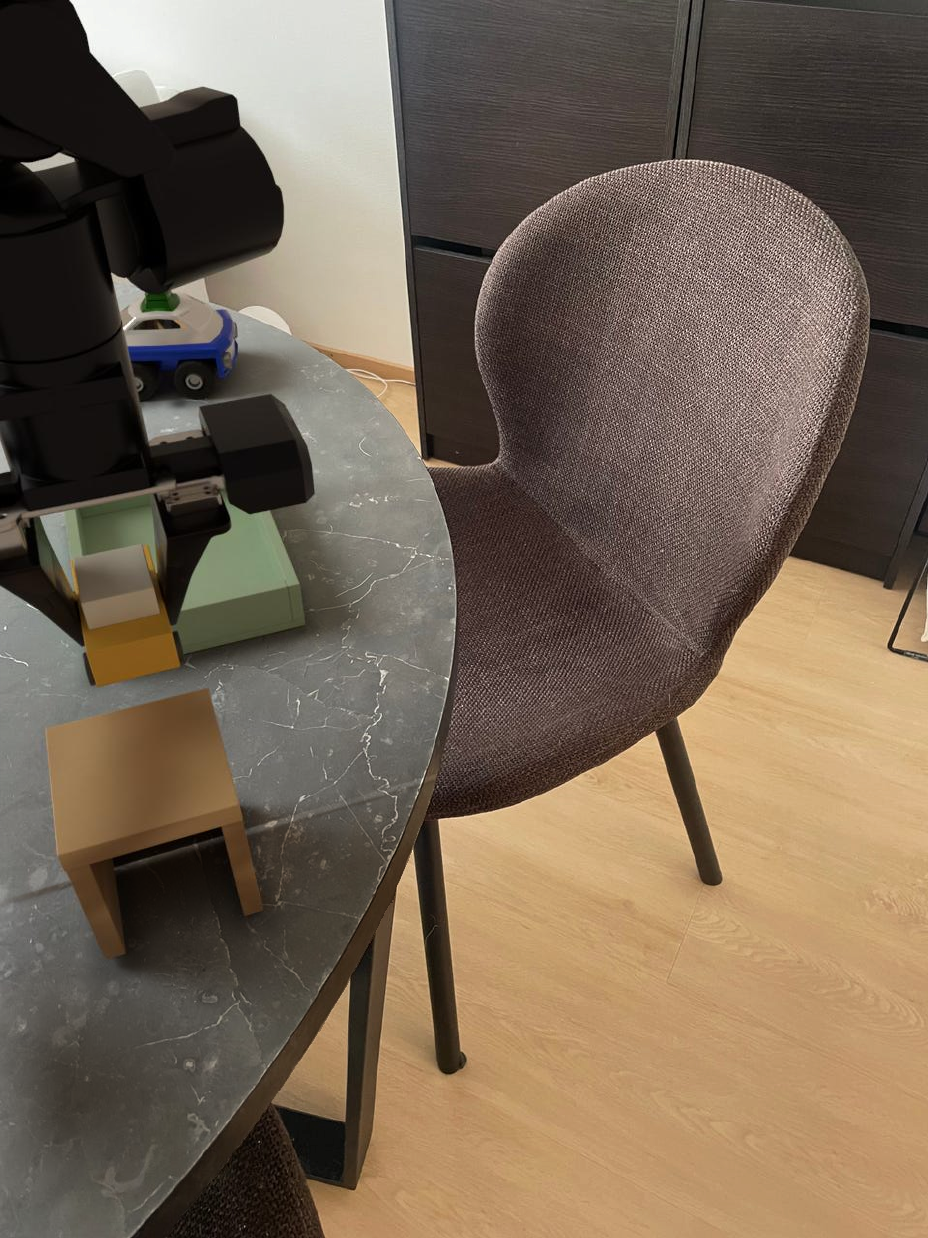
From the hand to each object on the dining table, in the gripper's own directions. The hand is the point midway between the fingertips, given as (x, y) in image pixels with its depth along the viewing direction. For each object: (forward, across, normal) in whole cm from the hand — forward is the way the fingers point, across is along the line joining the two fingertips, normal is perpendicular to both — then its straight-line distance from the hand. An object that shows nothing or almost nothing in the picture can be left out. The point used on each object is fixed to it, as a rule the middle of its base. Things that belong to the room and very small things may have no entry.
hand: (129, 630), depth 49 cm
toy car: (+12, -8, -48) cm, 50 cm away
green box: (+12, -4, -19) cm, 23 cm away
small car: (+1, 0, 0) cm, 1 cm away
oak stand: (+12, +1, +6) cm, 13 cm away
